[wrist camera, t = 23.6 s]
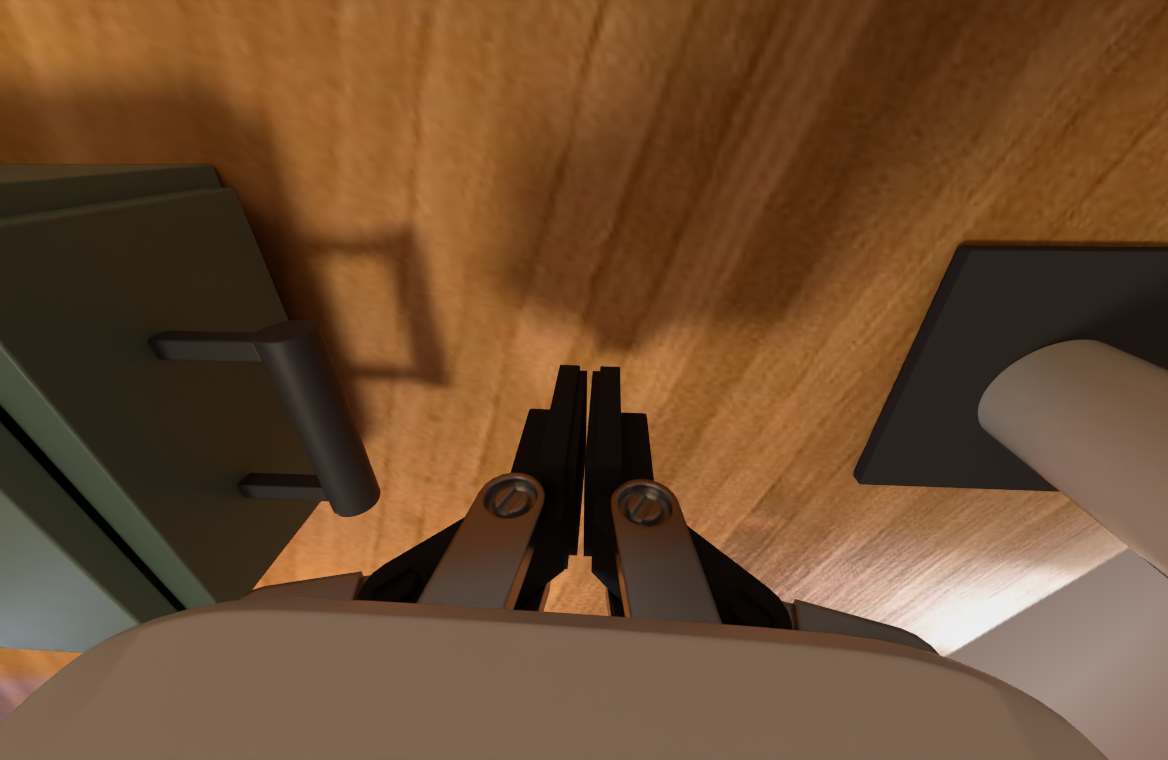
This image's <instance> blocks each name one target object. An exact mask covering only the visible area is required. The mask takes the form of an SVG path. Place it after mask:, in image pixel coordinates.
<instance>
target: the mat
mask: <svg viewBox="0 0 1168 760" xmlns="http://www.w3.org/2000/svg"><path fill="white" fill-rule="evenodd" d="M1071 340H1096V341H1101V342H1104V343H1107V344H1109V345H1112V346H1114V347H1116V348H1119V349H1121V350H1123V351H1126V352H1128V353H1130V354H1133V355H1135V356H1137V357H1140V358H1142V359H1144V360H1147V361H1149V362H1151V363H1153V364H1156V365H1158V366H1160V367H1163V368H1165V369H1167V370H1168V247H1079V246H964V245H962V246H959V247H958V250H957V252H956V254H955V256H954V258H953V260H952V262H951V265H950V267H949V269H948V271H947V273H946V275H945V278H944V280H943V282H942V284H941V286H940V288H939V291H938V293H937V295H936V297H935V299H934V301H933V303H932V306H931V308H930V310H929V312H928V314H927V316H926V319H925V321H924V323H923V325H922V327H921V329H920V332H919V334H918V336H917V338H916V340H915V342H914V344H913V347H912V349H911V351H910V353H909V355H908V357H907V360H906V362H905V364H904V366H903V368H902V370H901V373H900V375H899V377H898V379H897V381H896V383H895V385H894V388H893V390H892V392H891V394H890V396H889V398H888V401H887V403H886V405H885V407H884V409H883V411H882V413H881V416H880V418H879V420H878V422H877V424H876V426H875V429H874V431H873V433H872V435H871V437H870V439H869V442H868V444H867V446H866V448H865V450H864V452H863V454H862V457H861V459H860V461H859V463H858V465H857V467H856V470H855V472H854V474H853V475H854V477H855V478H856V480H857V481H858V483H859V484H870V485H897V486H924V487H952V488H979V489H1006V490H1033V491H1059V490H1058V489H1056V488H1055V487H1054V486H1053V485H1051V484H1050V483H1049V482H1048V481H1046V480H1045V479H1044V478H1043V477H1041V476H1040V475H1039V474H1038V473H1036V472H1035V471H1034V470H1033V469H1032V468H1030V467H1029V466H1028V465H1027V464H1025V463H1024V462H1023V461H1022V460H1020V459H1019V458H1018V457H1017V456H1015V455H1014V454H1013V453H1012V452H1010V451H1009V450H1008V449H1007V448H1005V447H1004V446H1003V445H1002V444H1000V443H999V442H998V441H997V440H995V439H994V438H993V437H992V436H991V435H989V434H988V433H987V432H986V431H985V430H984V429H983V428H982V427H981V425H980V423H979V420H978V405H979V402H980V399H981V397H982V395H983V393H984V392H985V390H986V389H987V387H988V386H989V385H990V383H991V382H992V381H993V380H994V379H995V378H996V377H997V376H998V375H999V374H1000V373H1001V372H1002V371H1004V370H1005V369H1006V368H1007V367H1008V366H1010V365H1011V364H1013V363H1014V362H1016V361H1017V360H1019V359H1021V358H1022V357H1024V356H1026V355H1028V354H1030V353H1032V352H1034V351H1036V350H1039V349H1041V348H1044V347H1046V346H1049V345H1053V344H1056V343H1060V342H1065V341H1071Z"/></svg>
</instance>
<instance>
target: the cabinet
mask: <svg viewBox="0 0 1168 760" xmlns="http://www.w3.org/2000/svg"><path fill="white" fill-rule="evenodd" d="M198 188H219V189H222V186H221V184H220V181H219V179H218V177H217V174H216V172H215V170H214V167H213V166H212V165H210V164H0V217H3V216H10V215H17V214H24V213H31V212H38V211H45V210H52V209H59V208H66V207H73V206H80V205H87V204H94V203H101V202H108V201H115V200H122V199H129V198H135V197H142V196H149V195H156V194H163V193H170V192H177V191H184V190H191V189H198ZM184 610H187V609H186V608H185V607H184V606H183V605H182V604H181V603H180V601H179V600H178V599H177V598H176V597H175V596H174V595H173V594H172V593H171V592H170V590H169V589H168V588H167V587H166V586H165V585H164V584H163V583H162V582H160V583H159V584H158V585H157V586H156V587H155V586H154V585H153V584H152V583H151V582H150V581H149V580H148V578H147V577H146V576H145V575H144V574H143V573H142V572H141V571H140V570H139V569H138V568H137V567H136V566H135V565H134V564H133V562H132V561H131V560H130V559H129V558H128V557H127V556H126V555H125V554H124V553H123V552H122V551H121V550H120V549H119V548H118V546H117V545H116V544H115V543H114V542H113V541H112V540H111V539H110V538H109V537H108V536H107V535H106V534H105V533H104V531H103V530H102V529H101V528H100V527H99V526H98V525H97V524H96V523H95V522H94V521H93V520H92V519H91V518H90V517H89V515H88V514H87V513H86V512H85V511H84V510H83V509H82V508H81V507H80V506H79V505H78V504H77V503H76V502H75V501H74V499H73V498H72V497H71V496H70V495H69V494H68V493H67V492H66V491H65V490H64V489H63V488H62V487H61V486H60V484H59V483H58V482H57V481H56V480H55V479H54V478H53V477H52V476H51V475H50V474H49V473H48V472H47V471H46V470H45V468H44V467H43V466H42V465H41V464H40V463H39V462H38V461H37V460H36V459H35V458H34V457H33V456H32V455H31V454H30V452H29V451H28V450H27V449H26V448H25V447H24V446H23V445H22V444H21V443H20V442H19V441H18V440H17V439H16V438H15V436H14V435H13V434H12V433H11V432H10V431H9V430H8V429H7V428H6V427H5V426H4V425H3V424H2V423H1V421H0V648H13V649H29V650H45V651H61V652H77V653H85V652H86V651H88V650H89V649H90V648H92V647H93V646H95V645H97V644H99V643H101V642H102V641H104V640H106V639H108V638H110V637H111V636H113V635H115V634H118V633H120V632H122V631H125V630H127V629H129V628H132V627H134V626H137V625H139V624H142V623H145V622H148V621H150V620H153V619H156V618H159V617H163V616H166V615H170V614H173V613H177V612H180V611H184Z"/></svg>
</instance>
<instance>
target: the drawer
mask: <svg viewBox="0 0 1168 760" xmlns="http://www.w3.org/2000/svg"><path fill="white" fill-rule="evenodd" d="M0 421H1V423H2V424H3V425H4V426H5V427H6V428H7V429H8V430H9V431H10V432H11V433H12V434H13V435H14V436H15V438H16V439H17V440H18V441H19V442H20V443H21V444H22V445H23V446H24V447H25V448H26V449H27V450H28V451H29V452H30V454H31V455H32V456H33V457H34V458H35V459H36V460H37V461H38V462H39V463H40V464H41V465H42V466H43V467H44V468H45V470H46V471H47V472H48V473H49V474H50V475H51V476H52V477H53V478H54V479H55V480H56V481H57V482H58V483H59V484H60V486H61V487H62V488H63V489H64V490H65V491H66V492H67V493H68V494H69V495H70V496H71V497H72V498H73V499H74V501H75V502H76V503H77V504H78V505H79V506H80V507H81V508H82V509H83V510H84V511H85V512H86V513H87V514H88V515H89V517H90V518H91V519H92V520H93V521H94V522H95V523H96V524H97V525H98V526H99V527H100V528H101V529H102V530H103V531H104V533H105V534H106V535H107V536H108V537H109V538H110V539H111V540H112V541H113V542H114V543H115V544H116V545H117V546H118V548H119V549H120V550H121V551H122V552H123V553H124V554H125V555H126V556H127V557H128V558H129V559H130V560H131V561H132V562H133V564H134V565H135V566H136V567H137V568H138V569H139V570H140V571H141V572H142V573H143V574H144V575H145V576H146V577H147V578H148V580H149V581H150V582H151V583H152V584H153V585H154V586H155V587H156V586H157V585H158V584H159V583H160V582H162V583H163V584H164V585H165V586H166V587H167V588H168V589H169V590H170V592H171V593H172V594H173V595H174V596H175V597H176V598H177V599H178V600H179V601H180V603H181V604H182V605H183V606H184V607H185V608H186V609H191V608H194V607H200V606H205V605H210V604H216V603H222V602H228V601H234V600H235V599H237V598H238V597H240V596H242V595H244V594H246V593H247V592H249V591H251V590H252V589H253V588H254V587H255V585H256V584H257V583H258V582H259V580H260V579H261V578H262V576H263V575H264V574H265V573H266V571H267V570H268V569H269V567H270V566H271V565H272V564H273V562H274V561H275V560H276V558H277V557H278V556H279V555H280V553H281V552H282V551H283V549H284V548H285V547H286V546H287V544H288V543H289V542H290V540H291V539H292V538H293V537H294V535H295V534H296V533H297V531H298V530H299V529H300V528H301V526H302V525H303V524H304V522H305V521H306V520H307V519H308V517H309V516H310V515H311V513H312V512H313V511H314V510H315V508H316V507H317V506H318V504H319V503H320V502H321V501H329V503H330V505H331V507H332V509H333V511H334V512H335V513H336V514H337V515H339V516H342V517H352V516H356V515H359V514H362V513H364V512H366V511H368V510H369V509H370V508H372V507H373V506H374V505H375V504H376V503H377V501H378V500H379V497H380V488H379V485H378V483H377V480H376V477H375V475H374V472H373V469H372V467H371V464H370V461H369V459H368V456H367V453H366V450H365V448H364V445H363V442H362V440H361V437H360V434H359V432H358V429H357V426H356V424H355V421H354V418H353V415H352V413H351V410H350V407H349V405H348V402H347V399H346V397H345V394H344V391H343V388H342V386H341V383H340V380H339V378H338V375H337V372H336V370H335V367H334V364H333V362H332V359H331V356H330V353H329V351H328V348H327V345H326V343H325V340H324V337H323V335H322V332H321V329H320V327H319V324H318V323H317V322H315V321H312V320H290V321H289V320H288V318H287V315H286V313H285V310H284V308H283V305H282V303H281V301H280V298H279V296H278V293H277V291H276V288H275V286H274V283H273V281H272V279H271V276H270V274H269V271H268V269H267V266H266V264H265V262H264V259H263V257H262V254H261V252H260V249H259V247H258V244H257V242H256V240H255V237H254V235H253V232H252V230H251V227H250V225H249V223H248V220H247V218H246V215H245V213H244V210H243V208H242V205H241V203H240V201H239V198H238V196H237V193H236V191H235V190H234V189H219V188H198V189H191V190H184V191H177V192H170V193H163V194H156V195H149V196H142V197H135V198H129V199H122V200H115V201H108V202H101V203H94V204H87V205H80V206H73V207H66V208H59V209H52V210H45V211H38V212H31V213H24V214H17V215H10V216H3V217H0Z"/></svg>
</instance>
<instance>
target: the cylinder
mask: <svg viewBox="0 0 1168 760" xmlns="http://www.w3.org/2000/svg"><path fill="white" fill-rule="evenodd" d="M978 420H979V423H980V425H981V427H982V428H983V429H984V430H985V431H986V432H987V433H988V434H989V435H991V436H992V437H993V438H994V439H995V440H997V441H998V442H999V443H1000V444H1002V445H1003V446H1004V447H1005V448H1007V449H1008V450H1009V451H1010V452H1012V453H1013V454H1014V455H1015V456H1017V457H1018V458H1019V459H1020V460H1022V461H1023V462H1024V463H1025V464H1027V465H1028V466H1029V467H1030V468H1032V469H1033V470H1034V471H1035V472H1036V473H1038V474H1039V475H1040V476H1041V477H1043V478H1044V479H1045V480H1046V481H1048V482H1049V483H1050V484H1051V485H1053V486H1054V487H1055V488H1056V489H1058V490H1059V491H1060V492H1061V493H1063V494H1064V495H1065V496H1066V497H1068V498H1069V499H1070V500H1071V501H1072V502H1074V503H1075V504H1076V505H1077V506H1079V507H1080V508H1081V509H1082V510H1084V511H1085V512H1086V513H1087V514H1089V515H1090V516H1091V517H1092V518H1094V519H1095V520H1096V521H1097V522H1099V523H1100V524H1101V525H1102V526H1104V527H1105V528H1106V529H1107V530H1108V531H1110V532H1111V533H1112V534H1113V535H1115V536H1116V537H1117V538H1118V539H1120V540H1121V541H1122V542H1123V543H1125V544H1126V545H1127V546H1128V547H1130V548H1131V549H1132V550H1133V551H1135V552H1136V553H1137V554H1138V555H1140V556H1141V557H1142V558H1143V559H1144V560H1146V561H1147V562H1148V563H1149V564H1151V565H1152V566H1153V567H1154V568H1156V569H1157V570H1158V571H1159V572H1161V573H1162V574H1163V575H1164V576H1166V577H1167V578H1168V370H1167V369H1165V368H1163V367H1160V366H1158V365H1156V364H1153V363H1151V362H1149V361H1147V360H1144V359H1142V358H1140V357H1137V356H1135V355H1133V354H1130V353H1128V352H1126V351H1123V350H1121V349H1119V348H1116V347H1114V346H1112V345H1109V344H1107V343H1104V342H1101V341H1096V340H1071V341H1065V342H1060V343H1056V344H1053V345H1049V346H1046V347H1044V348H1041V349H1039V350H1036V351H1034V352H1032V353H1030V354H1028V355H1026V356H1024V357H1022V358H1021V359H1019V360H1017V361H1016V362H1014V363H1013V364H1011V365H1010V366H1008V367H1007V368H1006V369H1005V370H1004V371H1002V372H1001V373H1000V374H999V375H998V376H997V377H996V378H995V379H994V380H993V381H992V382H991V383H990V385H989V386H988V387H987V389H986V390H985V392H984V393H983V395H982V397H981V399H980V402H979V405H978Z"/></svg>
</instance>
